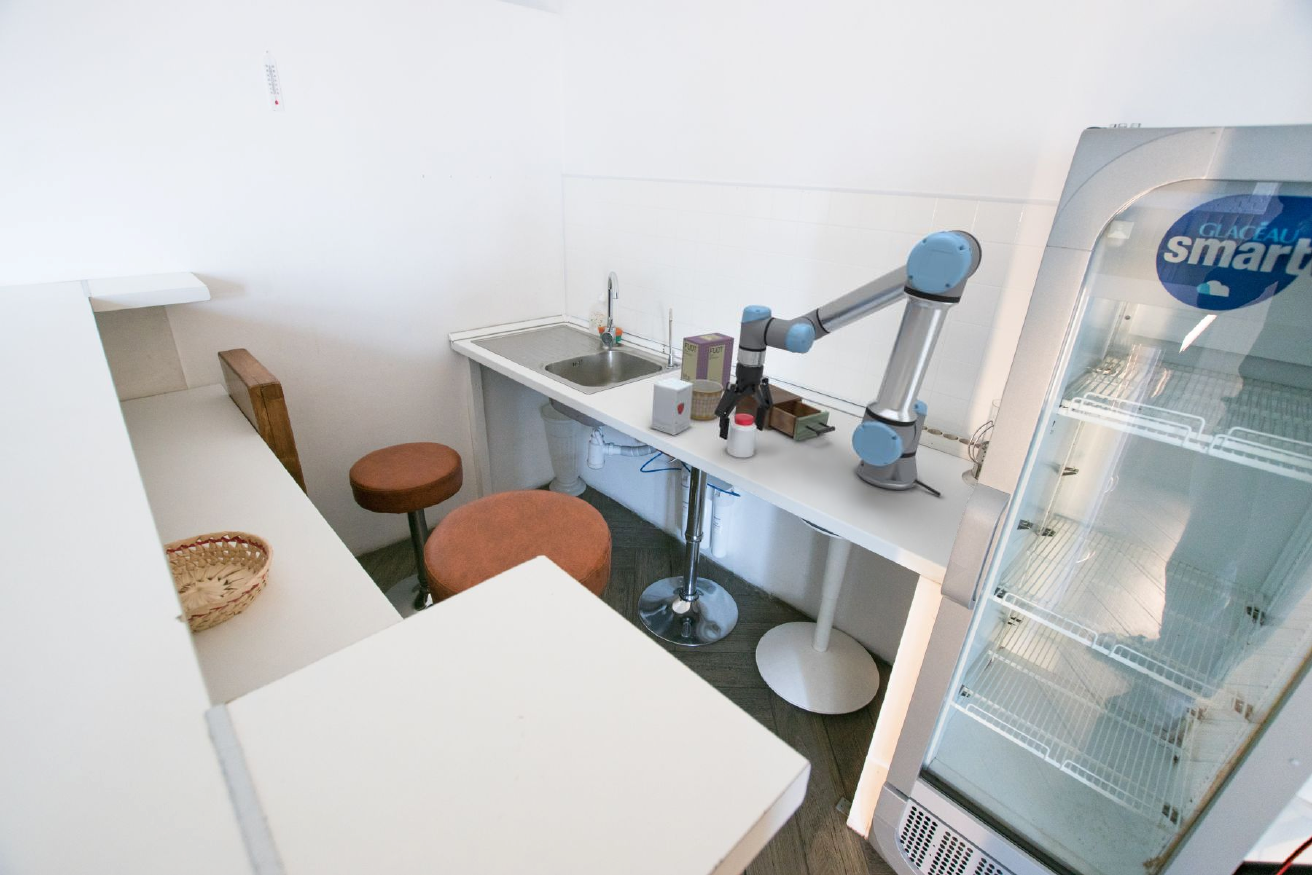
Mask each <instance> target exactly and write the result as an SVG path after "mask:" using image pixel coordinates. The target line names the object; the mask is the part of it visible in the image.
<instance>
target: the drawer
mask: <svg viewBox="0 0 1312 875" xmlns="http://www.w3.org/2000/svg"><path fill="white" fill-rule="evenodd" d="M829 417H830V412H829V411H827V410H825V411H822V410H821V409H819V408H816V407H814V406H812V405H809V404H807V403H805V402H803V401H802V402H800V401H794V402H789V403H785V404H781V405H776V406H772V409H771V416H770V424H769V425H771V426H773V427H775V428H774V429H776V430H779V431H781V432H783V433H785V434H787V435H789V436H790V437H793V440H795V441H799V440H803V439H806V438H809V437H814V436H821V435H824V434H827V433H833V432H835V431H836V426H834V425H831V426H830V425H828V421H829Z"/></svg>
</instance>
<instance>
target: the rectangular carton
mask: <svg viewBox="0 0 1312 875" xmlns="http://www.w3.org/2000/svg"><path fill="white" fill-rule="evenodd" d="M692 388H693V383H689V382H686V381H682V380H681V379H678V378H675V377H668V378H666V379H662V380H660V381H657V382H655V383H653V395H652V396H653V400H652V414H651V416H652V417H651V428H652V429H654V430H657V431H660V432H662V433H663V432H664V433H666V434H668V435H672V436H676V435H677V434H679V433H681V432H683V431H685V430H687V429H689V428H690V426H691V418H690V414H691V401H692Z"/></svg>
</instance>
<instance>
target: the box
mask: <svg viewBox="0 0 1312 875" xmlns="http://www.w3.org/2000/svg"><path fill="white" fill-rule="evenodd" d="M734 344H735V337H733V336H729V335H726V334H723V333H720V332H711V333H706V334H700V335H699V334H698V335H692V336H687V337H683V339H682V355H681V370H680V371H681V372H680V380H682V381H686V382H688V381H691V380H711V381H715V382H718V383H720V384H721V385H722V386H723V391H722V392H725V389H726V384H727V382H731V372H732V365H733V364H732V363H733V353H734Z"/></svg>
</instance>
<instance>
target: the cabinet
mask: <svg viewBox="0 0 1312 875" xmlns="http://www.w3.org/2000/svg"><path fill="white" fill-rule="evenodd" d="M768 385H769V389H770V393H771V397H772V401H773V406H776V405H781V404H785V403H789V402H794V401H800V402H803V396H800V395H798V394H796V393H793V392H791V391H788V390H786V389H784V388H782V387H778V386H776V385H774V384H772V383H769V384H768ZM758 388H759V390H760V392H761V388H760V385H759V387H758ZM737 394H738V395H739V393H737ZM761 395H762V392H761ZM762 396H763V395H762ZM758 407H760V406H759V404H758V402H757V401H756V399H755V398H754V396H753V395H752V396H747V397H743V399H741V400H740V401H739V402H738V404H737V405H736V406H735V412H734V414H735V415H736V414H749V415H751V416H753V417H754V421H753V422H754V423H755V421H756V414H757V408H758ZM769 407H770V410H767V412H766V418H765V419H764V425H763V429H765V430H771V429H776V428H775V427H773V426H771V425H769V424H770V416H771V409H772V406H769ZM760 408H761V407H760Z"/></svg>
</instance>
